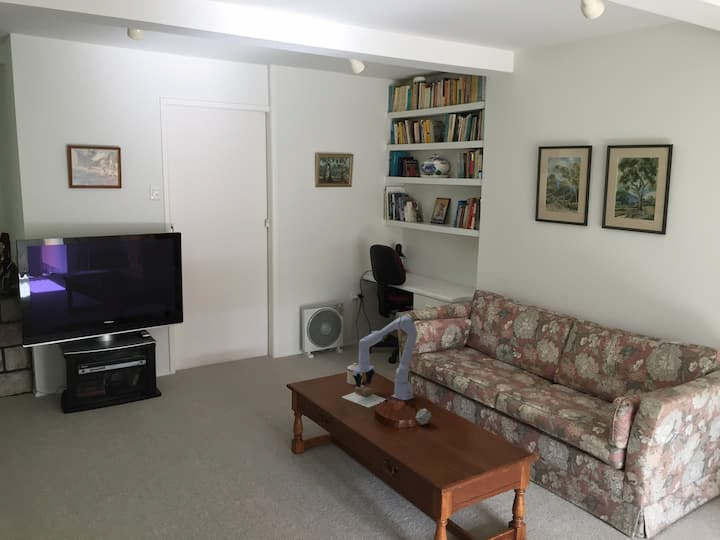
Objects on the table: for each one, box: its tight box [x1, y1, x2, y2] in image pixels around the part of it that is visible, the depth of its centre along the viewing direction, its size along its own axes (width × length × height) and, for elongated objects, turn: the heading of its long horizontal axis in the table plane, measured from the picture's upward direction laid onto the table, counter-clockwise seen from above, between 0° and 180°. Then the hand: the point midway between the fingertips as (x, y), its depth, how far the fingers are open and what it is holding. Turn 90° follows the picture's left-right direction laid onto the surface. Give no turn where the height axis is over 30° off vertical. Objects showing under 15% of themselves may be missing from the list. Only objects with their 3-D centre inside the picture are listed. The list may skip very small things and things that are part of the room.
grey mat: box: [341, 391, 386, 408], centre depth 328 cm, size 20×15×1 cm
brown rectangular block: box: [354, 384, 373, 397], centre depth 333 cm, size 8×5×4 cm, turn 46°
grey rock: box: [412, 406, 434, 427], centre depth 296 cm, size 9×8×10 cm
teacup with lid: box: [346, 362, 364, 386], centre depth 353 cm, size 12×9×12 cm
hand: (363, 385), depth 333 cm, fingers open, 7 cm apart
